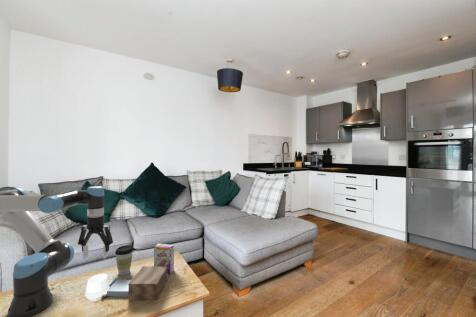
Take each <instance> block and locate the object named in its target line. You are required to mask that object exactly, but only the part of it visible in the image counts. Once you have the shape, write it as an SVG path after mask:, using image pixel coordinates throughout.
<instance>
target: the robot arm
mask: <svg viewBox="0 0 476 317" xmlns="http://www.w3.org/2000/svg"><path fill="white" fill-rule="evenodd" d="M80 205H83V206H86V213H87V214H86V216H87V217H86V223H87V225H86V224H85V225H83V226H81V227H80V229H81V231H80V234H79V238H78V242H77V245H78V246H81V252H82V253H83V254H82V256H83V258H82V259H86V258H87V257H89V243H88V242H89V240H90V238H91V237H92V235H93V234H96V235H98V236H99V238H100V239H101V241H102V243H103V248H102V250H103V251H102V252H103V253H102V254H103V255H102V258H103V260H105V259H106V258H107V257H108V255H109V254H108V253H109V251H110V245H112V244H113V243H114V240H113V237H112V232H111V225H105V223H104V222H105V188H104V186H98V185H97V186H95V185H94V186H89V187H87V188H86V190H85V189H84V190H83V189H82V190H81V189H70V190H65V191H64V192H62V193H58V194H27V193H26V192H25V190H24V189H23V188H21V187H18V186H3V187H0V218H5V219H6V220H7V221H8V222H9V223H10V225H11V226H12V227H13V228H14V229H15V230H16V231H17V232H18V233H19V235H20V236H21V237H22V238H23V239H24V240H25V242H26V243H27V244H28V245H29V246H30V248H31V249H32V250H33V251H34V253H32V254H29V255H27V256H24V257H23V258H20V259H19V260H18V261H17V262H15V264H14V266H13V271H12V282H13V285H12V286H13V287H12V288H13V290H12V291H13V296H12V299H11V301H10V304H9V307H8V309H7V317H32V316H35V315H37V314H39V313H41V312H43V311H44V310H46V309H47V308H49V306H51V305H52V303H53V300H54V298H53V294H52V292H51V290H50V288H49V277H51V276H52V275H54V274H55V273H57V272H58V271H59V270H61V269H63V268H65V267H66V266H67V265H69V264H70V263H71V262H72V261H73V259H74V257H75V256H74V255H75V249H74V247H73V245H71V243H68V242H63V243H62V241H61V240H60V239H54V238H53V237H52V236H51V234H50V233H49V232H48V231H47V230H46V229H45V227H44V226H43V225H42V224H41V223H40V222H39V220H38V219H37V218H36V217H35V215H33V214H32V212H42V213H44V214H51V213H52V214H53V213H56V212H59V211H61V210H64V209H67V208H70V207H74V206H80Z"/></svg>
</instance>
